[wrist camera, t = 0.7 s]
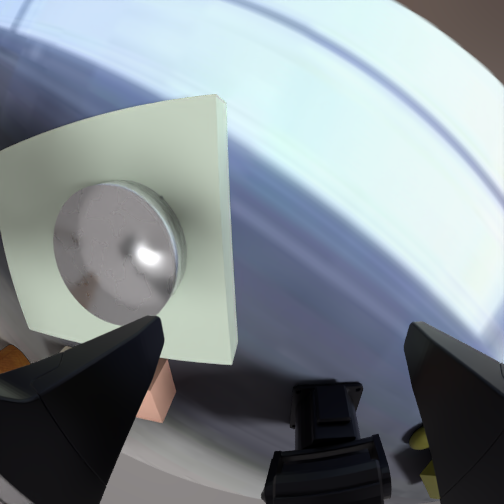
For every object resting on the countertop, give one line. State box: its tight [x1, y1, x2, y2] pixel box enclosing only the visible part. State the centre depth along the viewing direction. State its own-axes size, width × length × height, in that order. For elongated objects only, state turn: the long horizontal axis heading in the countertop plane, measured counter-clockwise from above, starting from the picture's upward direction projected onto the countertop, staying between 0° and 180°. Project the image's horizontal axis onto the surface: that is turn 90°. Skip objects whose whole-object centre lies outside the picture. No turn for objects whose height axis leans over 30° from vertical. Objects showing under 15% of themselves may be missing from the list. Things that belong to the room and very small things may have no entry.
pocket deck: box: [0, 94, 238, 365], centre depth 20 cm, size 18×22×3 cm
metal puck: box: [53, 180, 187, 326], centre depth 17 cm, size 9×9×2 cm
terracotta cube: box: [136, 358, 176, 423], centre depth 24 cm, size 4×4×4 cm
